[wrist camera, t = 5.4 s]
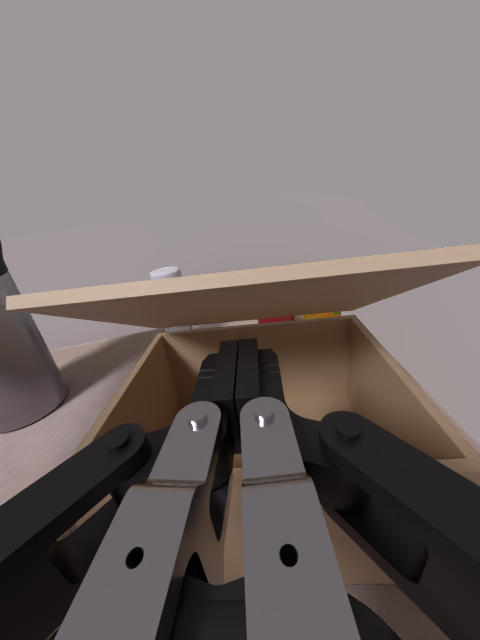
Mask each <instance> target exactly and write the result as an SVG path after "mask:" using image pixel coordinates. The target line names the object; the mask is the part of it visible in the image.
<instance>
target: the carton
mask: <svg viewBox="0 0 480 640" xmlns="http://www.w3.org/2000/svg"><path fill="white" fill-rule="evenodd" d="M248 338H257V341H258V350H259V349H272V350H273V351H274V352H275V353H276V354H277V356H278V362H279V368H280V374H281V380H282V386H283V392H284V397H285V402H286V404H287V406H288V407H289V409H290V410H291V411H292V412H294V413H295V414H297V415H299V416H301V417H304V418H307V419H312V420H317V421H321V420H322V418H323V417H324V416H325V415H327V414H329V413H331V412H335V411H349V412H353V413H356V414H359V415H361V416H363V417H365V418H366V419H368V420H370V421H371V422H373V423H375V424H376V425H378V426H380V427H381V428H383V429H385V430H386V431H388V432H390V433H391V434H393V435H395V436H396V437H398V438H400V439H401V440H403V441H405V442H406V443H408V444H410V445H411V446H413V447H415V448H417V449H418V450H420V451H422V452H423V453H425V454H427V455H428V456H430V457H432V458H433V459H435V460H437V461H438V462H440V463H442V464H443V465H445V466H447V467H448V468H450V469H452V470H453V471H455V472H457V473H458V474H460V475H462V476H463V477H465V478H467V479H469V480H470V481H472V482H474V483H475V484H477V485H479V486H480V455H479V454H478V453H477V452H476V451H475V450H474V449H473V448H472V446H471V445H470V444H469V443H468V442H467V441H466V440H465V439H464V437H463V436H462V435H461V434H460V433H459V432H458V431H457V430H456V428H455V427H454V426H453V425H452V424H451V423H450V422H449V421H448V419H447V418H446V417H445V416H444V415H443V414H442V413H441V412H440V410H439V409H438V408H437V407H436V406H435V405H434V404H433V403H432V401H431V400H430V399H429V398H428V397H427V396H426V395H425V394H424V392H423V391H422V390H421V389H420V388H419V387H418V386H417V384H416V383H415V382H414V381H413V380H412V379H411V378H410V377H409V375H408V374H407V373H406V372H405V371H404V370H403V369H402V368H401V366H400V365H399V364H398V363H397V362H396V361H395V360H394V359H393V357H392V356H391V355H390V354H389V353H388V352H387V351H386V350H385V348H384V347H383V346H382V345H381V344H380V343H379V342H378V341H377V339H376V338H375V337H374V336H373V335H372V334H371V333H370V332H369V331H368V329H367V328H366V327H365V326H364V325H363V324H362V323H361V321H360V320H359V319H358V318H357V317H356V316H355V315H349V316H338V317H327V318H316V319H305V320H294V321H284V322H273V323H262V324H251V325H240V326H229V327H218V328H207V329H196V330H185V331H175V332H164V333H158V334H157V335H156V336H155V338H154V339H153V341H152V342H151V344H150V345H149V346H148V348H147V349H146V351H145V352H144V354H143V355H142V356H141V358H140V359H139V361H138V362H137V364H136V365H135V367H134V368H133V369H132V371H131V372H130V374H129V375H128V377H127V378H126V379H125V381H124V382H123V384H122V385H121V387H120V388H119V390H118V391H117V392H116V394H115V395H114V397H113V398H112V400H111V401H110V402H109V404H108V405H107V407H106V408H105V410H104V411H103V412H102V414H101V415H100V417H99V418H98V420H97V421H96V423H95V424H94V425H93V427H92V428H91V430H90V431H89V433H88V434H87V435H86V437H85V438H84V440H83V441H82V443H81V444H80V446H79V447H78V448H77V450H76V451H75V453H74V454H76V453H77V452H79V451H80V450H82V449H83V448H85V447H86V446H87V445H89V444H90V443H92V442H93V441H95V440H96V439H98V438H99V437H100V436H102V435H103V434H105V433H106V432H108V431H109V430H111V429H113V428H115V427H117V426H119V425H122V424H127V423H136V424H139V425H140V426H142V427H143V428H144V431H145V433H149V432H152V431H156V430H159V429H162V428H165V427H167V426H169V425H171V424H172V423H173V421H174V419H175V417H176V415H177V414H178V412H179V411H180V410H181V409H183V408H184V407H185V406H187V405H189V404H190V401H191V397H192V394H193V390H194V387H195V384H196V380H197V379H198V374H199V372H200V367H201V363H202V361H203V360H204V359H205V358H206V357H207V356H208V355H209V354H212V353H218V352H219V347H220V342H221V341H226V340H237V339H238V340H240V339H248ZM74 454H73V455H74ZM242 483H243V468H242V454H234V462H233V486H232V493H231V500H230V508H229V515H228V522H227V530H226V537H225V544H224V584H225V583H228V582H231V581H233V580H236V579H239V578H242V577H244V553H243V528H242V503H241V484H242ZM111 498H112V496H111V495H110V494H109V495H107V496H106V497H105V498H104V499H103V500H102V501H100V502H99V503H98V504H97V505H96V506H95V507H93V508H92V509H91V510H90V511H89V512H88V513H86V514H85V515H84V516H83V517H82V518H81V519H79V520H78V521H77V522H76V523H75V525H76V527H77V528H78V527H79V526H80V525H82V524H83V523H84V522H85V521H86V520H87V519H88V518H90V517H91V516H92V515H93V514H94V513H95V512H96V511H97V510H99V509H100V508H101V507H102V506H103V505H104V504H105V503H107V502H108V501H109V500H110V499H111ZM320 505H321V504H320ZM321 509H322V512H323V515H324V519H325V522H326V525H327V529H328V532H329V535H330V539H331V542H332V546H333V549H334V552H335V556H336V559H337V562H338V566H339V569H340V572H341V576H342V579H343V582H344V584H395V583H394V582H393V581H392V580H391V579H390V578H389V577H388V576H387V575H386V574H385V573H384V572H383V571H382V570H381V569H380V568H379V567H378V565H377V564H376V563H375V562H374V561H373V560H372V559H371V558H370V557H369V556H368V555H367V554H366V553H365V552H364V551H363V550H362V549H361V548H360V547H359V546H358V545H357V544H356V543H355V542H354V541H353V540H352V539H351V538H350V537H349V536H348V535H347V534H346V533H345V532H344V531H343V530H342V529H341V528H340V527H339V526H338V525H337V524H336V523H335V522H334V521H333V520H332V519H331V518H330V517H329V516H328V515H327V513H326V512H325V511H324V510H323V508H322V506H321Z"/></svg>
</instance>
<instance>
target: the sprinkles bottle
mask: <svg viewBox="0 0 480 640" xmlns="http://www.w3.org/2000/svg"><path fill="white" fill-rule="evenodd" d="M175 277H182V276H181V272H180V268H178V267H165V268H160V269H156V270H154V271H152V272H151V273H150V278H151V280H157V279H166V278H175ZM185 330H192V325H190V326H179V327H169V328H165V331H166V332H175V331H185Z"/></svg>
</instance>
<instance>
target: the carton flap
mask: <svg viewBox="0 0 480 640" xmlns="http://www.w3.org/2000/svg"><path fill="white" fill-rule="evenodd" d="M477 266H480V244H474V245H465V246H456V247H447V248H437V249H428V250H420V251H411V252H401V253H392V254H384V255H375V256H365V257H357V258H348V259H338V260H329V261H321V262H311V263H302V264H293V265H284V266H275V267H266V268H257V269H248V270H239V271H230V272H221V273H211V274H203V275H194V276H184V277H175V278H166V279H157V280H148V281H139V282H131V283H121V284H112V285H103V286H94V287H85V288H76V289H67V290H58V291H49V292H40V293H31V294H22V295H13V296H6V310H9V311H17V312H26V313H34V314H42V315H51V316H59V317H68V318H76V319H85V320H93V321H101V322H109V323H117V324H126V325H134V326H143V327H151V328H169V327H179V326H190V325H201V324H212V323H222V322H233V321H244V320H254V319H265V318H276V317H287V316H297V315H308V314H319V313H329V312H340V311H351V310H355V309H358V308H361V307H364V306H366V305H369V304H372V303H375V302H377V301H381V300H383V299H386V298H389V297H392V296H395V295H398V294H401V293H403V292H406V291H409V290H412V289H414V288H417V287H420V286H423V285H426V284H429V283H432V282H435V281H437V280H440V279H443V278H446V277H449V276H452V275H454V274H457V273H460V272H463V271H466V270H469V269H472V268H474V267H477Z"/></svg>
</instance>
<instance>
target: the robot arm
mask: <svg viewBox="0 0 480 640" xmlns="http://www.w3.org/2000/svg"><path fill="white" fill-rule="evenodd" d="M13 295H21V294H20V292H19V290H18V289H17V287H16V284H15V282H14V281H13V279H12V277H11V275H10V273H9V272H8V268H7V267H6V264H5V262H4V260H3V255H2V246H1V241H0V433H4V432H9V431H13V430H16V429H19V428H22V427H24V426H27V425H29V424H31V423H33V422H35V421H37V420H39V419H41V418H42V417H44V416H45V415H47V414H49V413H50V412H51V411H52V410H54V409H55V408H56V407H57V406H58V405H59V404H60V403H62V401H63V400H64V399H65V397H66V395H67V393H68V388H67V385H66V383H65V381H64V379H63V377H62V375H61V373H60V371H59V369H58V367H57V365H56V363H55V361H54V359H53V357H52V355H51V353H50V351H49V349H48V347H47V345H46V344H45V342H44V340H43V338H42V336H41V334H40V332H39V330H38V328H37V326H36V324H35V322H34V320H33V318H32V316H31V314H30V313H26V312H17V311H9V310H6V296H13ZM234 454H242V468H243V483H242V484H241V503H242V528H243V553H244V577H242V578H239V579H236V580H233V581H231V582H228V583H225V584H224V544H225V537H226V530H227V522H228V515H229V508H230V500H231V493H232V486H233V462H234ZM109 494H110V495H111V496H112V498H111V499H110V500H109V501H108V502H107V503H105V504H104V505H103V506H102V507H101V508H100V509H99V510H97V511H96V512H95V513H94V514H93V515H92V516H91V517H90V518H88V519H87V520H86V521H85V522H84V523H83V524H82V525H80V526H79V527H78V528H77V529H76V530H75V531H74V532H72V533H71V534H70V535H69V536H67V537H66V538H64V539H62V540H60V541H56V540H57V539H58V538H59V537H60V536H61V535H62V534H63V533H64V532H65V531H67V530H68V529H69V528H70V527H71V526H72V525H74V524H75V523H76V522H77V521H78V520H79V519H81V518H82V517H83V516H84V515H85V514H86V513H88V512H89V511H90V510H91V509H92V508H93V507H95V506H96V505H97V504H98V503H99V502H100V501H102V500H103V499H104V498H105V497H106V496H107V495H109ZM320 504H321V505H320ZM321 506H322V508H323V510H324V511H325V512H326V513H327V515H328V516H329V517H330V518H331V519H332V520H333V521H334V522H335V523H336V524H337V525H338V526H339V527H340V528H341V529H342V530H343V531H344V532H345V533H346V534H347V535H348V536H349V537H350V538H351V539H352V540H353V541H354V542H355V543H356V544H357V545H358V546H359V547H360V548H361V549H362V550H363V551H364V552H365V553H366V554H367V555H368V556H369V557H370V558H371V559H372V560H373V561H374V562H375V563H376V564H377V565H378V567H379V568H380V569H381V570H382V571H383V572H384V573H385V574H386V575H387V576H388V577H389V578H390V579H391V580H392V581H393V582H394V583H395V584H396V585H397V586H398V587H399V588H400V589H401V590H402V591H403V592H404V593H405V594H406V595H407V596H408V597H409V598H410V599H411V600H412V601H413V602H414V603H415V604H416V605H417V606H418V607H419V608H420V609H421V610H422V611H423V612H424V613H425V614H426V615H427V616H428V617H429V618H430V619H431V620H432V621H433V622H434V623H435V624H436V625H437V626H438V627H439V628H440V629H441V631H442V632H443V633H444V634H445V635H446V636H447V637H448V638H449V639H450V640H480V486H479V485H477V484H475V483H474V482H472V481H470V480H469V479H467V478H465V477H463V476H462V475H460V474H458V473H457V472H455V471H453V470H452V469H450V468H448V467H447V466H445V465H443V464H442V463H440V462H438V461H437V460H435V459H433V458H432V457H430V456H428V455H427V454H425V453H423V452H422V451H420V450H418V449H417V448H415V447H413V446H411V445H410V444H408V443H406V442H405V441H403V440H401V439H400V438H398V437H396V436H395V435H393V434H391V433H390V432H388V431H386V430H385V429H383V428H381V427H380V426H378V425H376V424H375V423H373V422H371V421H370V420H368V419H366V418H365V417H363V416H361V415H359V414H356V413H353V412H349V411H335V412H331V413H329V414H327V415H325V416H324V417H323V418H322V420H321V421H317V420H312V419H307V418H304V417H301V416H299V415H297V414H295V413H294V412H292V411H291V410H290V409H289V407H288V406H287V404H286V402H285V397H284V392H283V386H282V380H281V374H280V368H279V362H278V356H277V354H276V353H275V352H274V351H273V350H272V349H259V350H258V341H257V338H248V339H240V340H238V339H237V340H226V341H221V342H220V347H219V352H218V353H212V354H209V355H208V356H207V357H206V358H205V359H204V360H203V361H202V363H201V367H200V372H199V374H198V379H197V380H196V384H195V387H194V390H193V394H192V397H191V401H190V404H189V405H187V406H185V407H184V408H183V409H181V410H180V411H179V412H178V414H177V415H176V417H175V419H174V421H173V423H172V424H171V425H169V426H167V427H165V428H162V429H159V430H156V431H152V432H149V433H145V431H144V428H143V427H142V426H140V425H139V424H136V423H127V424H122V425H119V426H117V427H115V428H113V429H111V430H109V431H108V432H106V433H105V434H103V435H102V436H100V437H99V438H98V439H96V440H95V441H93V442H92V443H90V444H89V445H87V446H86V447H85V448H83V449H82V450H80V451H79V452H77V453H76V454H74V455H73V456H72V457H70V458H69V459H67V460H66V461H64V462H63V463H62V464H60V465H59V466H57V467H56V468H54V469H53V470H51V471H50V472H49V473H47V474H46V475H44V476H43V477H41V478H40V479H38V480H37V481H36V482H34V483H33V484H31V485H30V486H28V487H27V488H25V489H24V490H23V491H21V492H20V493H18V494H17V495H15V496H14V497H12V498H11V499H10V500H8V501H7V502H5V503H4V504H2V505H1V506H0V640H46V639H47V637H48V636H49V635H50V634H51V633H52V632H53V631H54V630H55V629H56V628H57V627H58V626H59V625H60V624H61V623H62V621H63V623H62V625H61V627H60V628H59V629H58V630H57V631H56V632H55V633H54V634H53V636H52V637H51V638H50V639H49V640H401V639H400V638H399V637H398V635H397V634H396V633H395V632H394V631H393V630H392V629H391V628H390V627H389V626H388V625H387V624H386V623H385V622H384V621H383V620H382V619H381V618H380V617H379V616H378V615H377V614H375V613H374V612H373V611H372V610H371V609H369V608H368V607H367V606H366V605H365V604H363V603H362V602H360V601H359V600H357V599H356V598H354V597H353V596H351V595H349V594H348V593H347V592H346V589H345V586H344V582H343V579H342V576H341V572H340V569H339V566H338V562H337V559H336V556H335V552H334V549H333V546H332V542H331V539H330V535H329V532H328V529H327V525H326V522H325V519H324V515H323V512H322V509H321Z"/></svg>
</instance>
